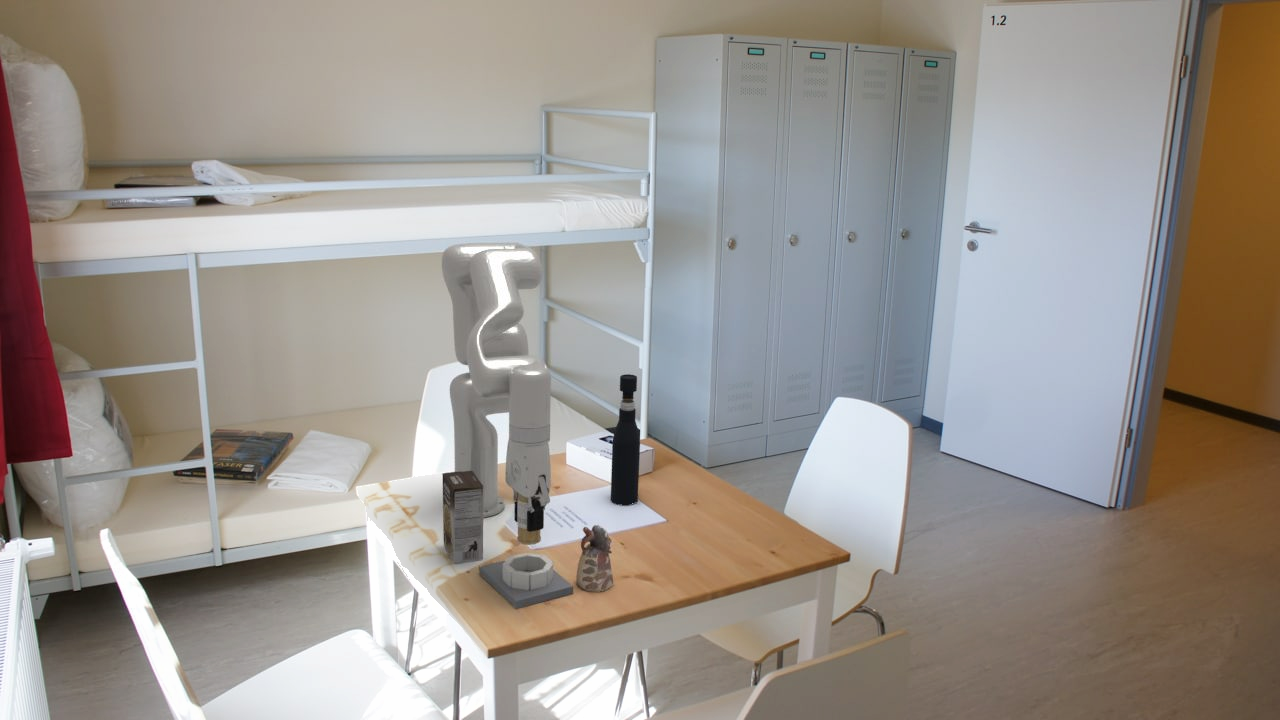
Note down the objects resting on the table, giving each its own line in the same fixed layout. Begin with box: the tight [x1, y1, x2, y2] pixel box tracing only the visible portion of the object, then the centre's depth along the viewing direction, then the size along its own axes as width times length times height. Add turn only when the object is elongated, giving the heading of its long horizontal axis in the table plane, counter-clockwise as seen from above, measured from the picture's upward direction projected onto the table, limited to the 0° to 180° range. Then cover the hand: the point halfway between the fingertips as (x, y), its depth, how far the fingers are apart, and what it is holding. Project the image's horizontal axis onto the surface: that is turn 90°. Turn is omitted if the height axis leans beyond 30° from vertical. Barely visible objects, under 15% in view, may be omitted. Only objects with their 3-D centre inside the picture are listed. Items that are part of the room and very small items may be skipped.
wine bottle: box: [610, 374, 641, 506], centre depth 231 cm, size 6×6×30 cm
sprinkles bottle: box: [516, 491, 542, 546], centre depth 188 cm, size 5×5×14 cm
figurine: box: [576, 524, 614, 593], centre depth 192 cm, size 7×7×12 cm
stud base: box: [478, 552, 574, 609], centre depth 192 cm, size 16×12×4 cm
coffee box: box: [441, 471, 484, 565], centre depth 202 cm, size 9×6×16 cm
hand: (528, 524), depth 188 cm, fingers closed on sprinkles bottle, 4 cm apart
